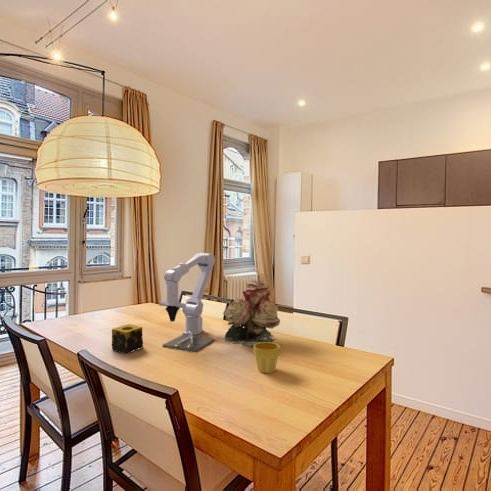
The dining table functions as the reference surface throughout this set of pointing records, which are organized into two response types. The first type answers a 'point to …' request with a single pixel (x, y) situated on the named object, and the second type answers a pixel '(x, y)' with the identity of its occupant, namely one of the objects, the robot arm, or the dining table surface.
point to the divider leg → (191, 336)
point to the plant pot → (266, 356)
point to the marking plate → (185, 344)
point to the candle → (127, 338)
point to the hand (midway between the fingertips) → (172, 321)
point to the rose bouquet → (252, 316)
